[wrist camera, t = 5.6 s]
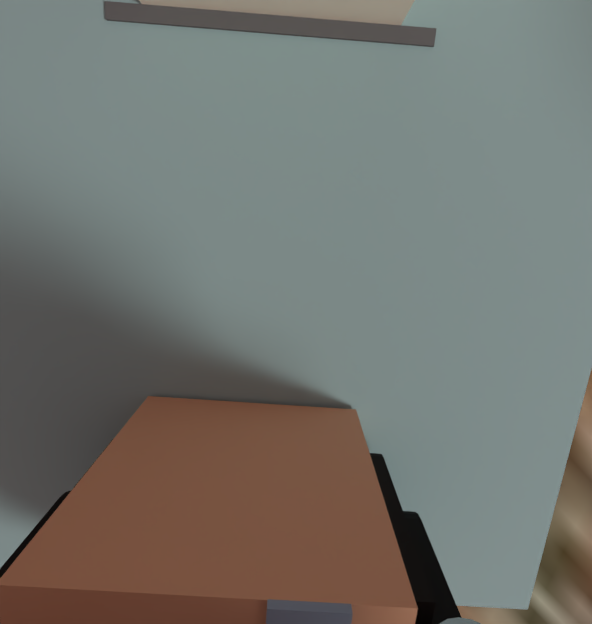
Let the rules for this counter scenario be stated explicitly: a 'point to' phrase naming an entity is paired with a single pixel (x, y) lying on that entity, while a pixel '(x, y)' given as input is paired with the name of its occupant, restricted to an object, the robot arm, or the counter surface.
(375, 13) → the beige box
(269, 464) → the stub
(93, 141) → the mat
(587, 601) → the counter surface
